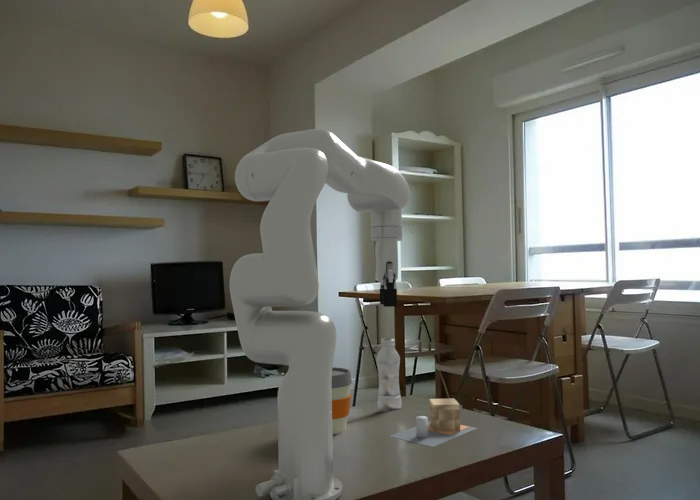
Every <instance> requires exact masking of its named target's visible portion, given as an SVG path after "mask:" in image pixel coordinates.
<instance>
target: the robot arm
mask: <svg viewBox="0 0 700 500" xmlns="http://www.w3.org/2000/svg"><path fill="white" fill-rule="evenodd" d="M234 181H235V185H236V188H237V191H239V193H240V195H241V196H242V197H243V198H245V199H247V200H250V201H252V202H266V201H267V202H268V201H269V202H268V204H267V205H266V206H265V207H266V208H265V209H264V211H263V214H262V216H261V220H260V225H259V230H260V231H259V232H260V238H261V245H262V246H261V247H262V252H261V253H251V254H250V253H249V254H246V255H243V256H241V257H240V258H239V259H237V260H236V261H235V263H234V264H233V266H232V269H231V272H230V277H229V292H230V299H231V304H232V309H233V314H234V319H235V324H236V330H237V332H238V333H237V334H238V338H239V343H240V346H241V348H242V351H243V353H244V355H245V356H246V357H247V358H248V359H249V360H250V361H252V362H255V363H259V364H270V365H283V366H288V370H287V372H286V373H285V375H284V376H283V378H282V379H281V381H280V384H279V386H278V390H277V398H276V399H277V443H278V445H277V447H278V449H277V450H278V451H277V452H278V469H274V470H273V476H271V478H270V479H269V480H268V481H263V482H261V483H257V484H256V485H255V493H256V495H257V496H258V497H263V496H265V495H268V494H269V496H270V498H271V500H337V499H338V498H340V496H342V493H343V483H342V482H341V480H339V479H338V478H337V477H334V448H333V447H334V446H333V445H334V442H333V441H334V440H333V434H332V367H333V365H334V357H335V352H336V345H337V330H336V325H335V324H334V321H333V320H332V319H331V317H329V316H327V315H325V314H324V313H321V312H318V311H313V310H312V311H311V310H273V309H272V308H275V307H277V308H282V307H283V308H287V307H289V308H290V307H301V306H302V307H303V306H306V305H309V304H311V303H313V302H314V301H315V299H316V298H317V297H318V294H319V289H320V288H319V287H320V285H319V284H320V283H319V275H318V269H317V263H316V256H315V250H314V243H313V239H312V229H311V218H312V214H313V211H314V208H315V204H316V203H317V200H318V198H319V196H320V194H321V192H322V190H323V188H324V186H325V184H326V185H328V186H329V187H330V188H332V189H333V190H334V191H335V192H336V191H337V192H339V193H344V194H347V195H346V196H347V197H346V198H347V201H348V204H349V206H350V207H351V208H352V209H353V210H355V211H356V212H360V213H370V234H371V235H370V236H371V238H370V239H371V240H370V241H371V242H374V243H375V247H374V250H375V251H374V253H375V254H374V262H375V264H374V268H375V269H374V273H375V274H374V276H375V278H374V279H375V281H377V282H380V285H379V286H380V288H379V304H380V305H383V307H385V308H389V307H397V306H398V290H397V280H398V277H399V248H398V244H399V243H398V242H401V241H403V222H402V209H404V208H405V207H406V206H407V205H408V203H409V201H410V198H411V191H410V186H409V183H408V182H407V180H406V178H405V177H404V176H403V175H402V173H401V172H400V171H398V170H397V168H395V167H393V166H392V165H389V164H387V163H384V162H380V161H376V160H373V159H370V158H368V157H362V156H358V155H357V154H356V153H355V152H354V151H352V150H351V148H350V147H348V146H347V145H346V144H345V143H344V142H342V140H340V138H339V137H337V136H336V135H335V134H334V133H333V132H331V131H329V130H328V129H323V128H312V129H306V130H300V131H299V130H297V131H293V132H287V133H282V134H278V135H277V136H274V137H273V138H271V139H269V140H267V141H265V142H264V143H263V144H261V145H259V146H258V147H256V148H255V149H253V150H251V151H250V152H248V153H247V154H246V155H244V156H243V157H242V158H241V159H240V160H239V162H238V163H237V166H236V168H235V172H234Z"/></svg>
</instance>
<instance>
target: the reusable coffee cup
mask: <svg viewBox="0 0 700 500" xmlns="http://www.w3.org/2000/svg"><path fill="white" fill-rule="evenodd" d="M352 383H353V382H352V374H351V370H350V369H348V368H344V367H337V366H336V367H335V366H334V367H332V435H337V434H340V433H343V432H345V431H346V429H347V421H348V420H347V419H348V416H349V414H350V407H351V400H352V395H351V391H350V390H351V385H352Z"/></svg>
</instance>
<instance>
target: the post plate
mask: <svg viewBox="0 0 700 500" xmlns="http://www.w3.org/2000/svg"><path fill="white" fill-rule="evenodd" d="M428 418H429V417H428V416H425V415H420V416H416V417H415V426H413V427H411V428H410V427H409V428H408V429H405V430H402V431H400V432H396V433H394V434H391V435H388V437H390V438H395V439H398V440H402V441H406V442H410V443H414V444H418V445H422V446H427V447H431V448H434V447H437V446H439V445H442V444H445V443H447V442H448V441H450V440H453V439H455V438H459V437H460V436H463V435H465V434H468V433H471V432H472V431H475V430H477V429H478V427H473V426H469V425H463V424H460V431H434V430H433V428H432V427H431V425H430V420H429V419H428Z"/></svg>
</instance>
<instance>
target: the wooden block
mask: <svg viewBox="0 0 700 500" xmlns="http://www.w3.org/2000/svg"><path fill="white" fill-rule="evenodd" d="M428 399H429V421H430V425H431V427H432V428H433V430H434V431H460V425H461V413H460V412H461V409H460V403H459V402H458V400H456V399H455V398H452V397H451V398H428Z"/></svg>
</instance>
